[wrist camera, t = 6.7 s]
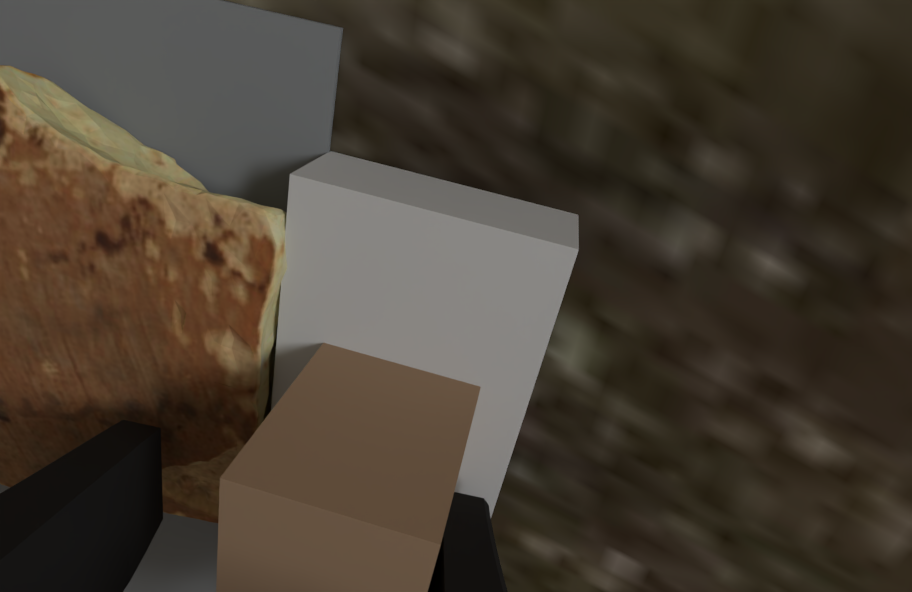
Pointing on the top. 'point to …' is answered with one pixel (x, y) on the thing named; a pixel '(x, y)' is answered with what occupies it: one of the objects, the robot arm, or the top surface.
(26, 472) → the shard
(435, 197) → the grout float
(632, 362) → the top surface
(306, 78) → the felt mat
